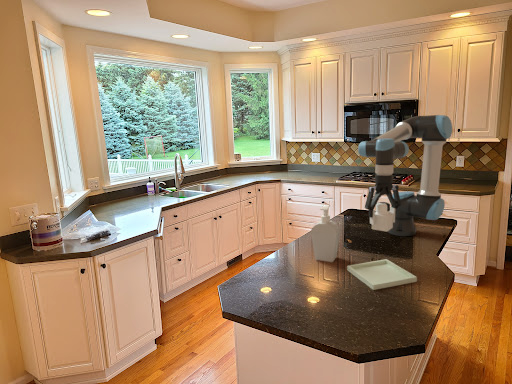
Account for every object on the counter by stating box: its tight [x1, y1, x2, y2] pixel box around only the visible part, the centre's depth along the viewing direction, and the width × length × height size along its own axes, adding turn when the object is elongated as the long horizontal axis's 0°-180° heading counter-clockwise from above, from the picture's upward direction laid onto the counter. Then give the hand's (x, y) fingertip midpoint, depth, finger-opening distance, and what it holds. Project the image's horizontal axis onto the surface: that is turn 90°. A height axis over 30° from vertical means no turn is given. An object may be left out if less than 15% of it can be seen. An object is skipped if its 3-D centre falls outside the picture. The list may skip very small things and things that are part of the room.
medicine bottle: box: [371, 201, 393, 233], centre depth 163 cm, size 7×7×12 cm
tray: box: [346, 258, 418, 291], centre depth 152 cm, size 20×20×2 cm
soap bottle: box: [310, 204, 342, 263], centre depth 171 cm, size 12×10×26 cm
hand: (382, 222), depth 163 cm, fingers closed on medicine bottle, 10 cm apart
